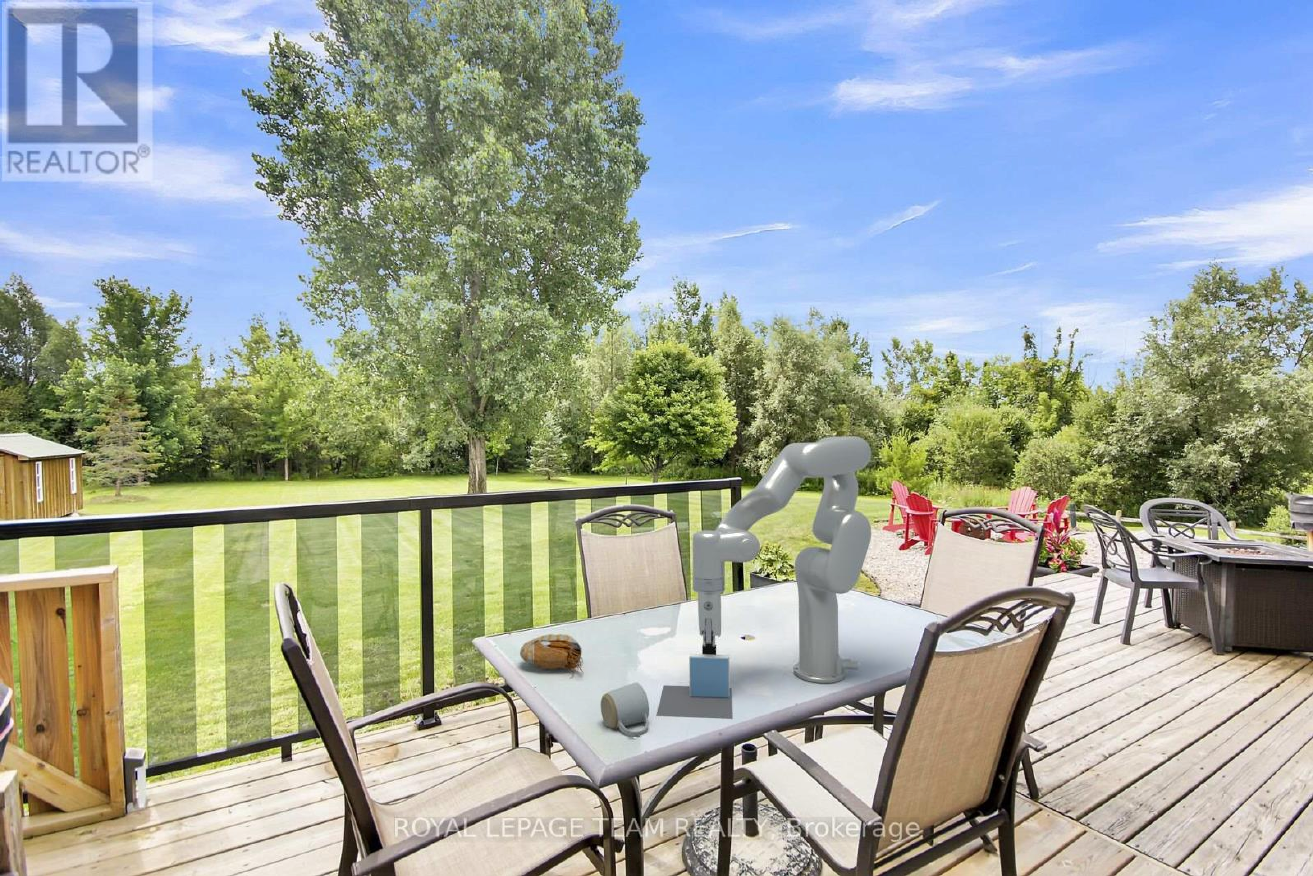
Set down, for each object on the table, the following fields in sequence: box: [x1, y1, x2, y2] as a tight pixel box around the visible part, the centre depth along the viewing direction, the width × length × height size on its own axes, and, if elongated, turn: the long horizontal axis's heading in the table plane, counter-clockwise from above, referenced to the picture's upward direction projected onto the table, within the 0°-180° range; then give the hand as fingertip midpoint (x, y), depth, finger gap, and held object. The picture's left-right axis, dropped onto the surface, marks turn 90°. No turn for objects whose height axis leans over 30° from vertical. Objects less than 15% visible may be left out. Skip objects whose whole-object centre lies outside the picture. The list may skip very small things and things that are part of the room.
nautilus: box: [519, 633, 585, 679], centre depth 154 cm, size 8×22×15 cm
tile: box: [688, 653, 731, 698], centre depth 135 cm, size 9×2×9 cm, turn 84°
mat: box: [656, 684, 734, 720], centre depth 132 cm, size 16×16×1 cm
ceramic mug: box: [600, 682, 650, 738], centre depth 122 cm, size 11×8×8 cm
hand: (709, 662), depth 139 cm, fingers closed
